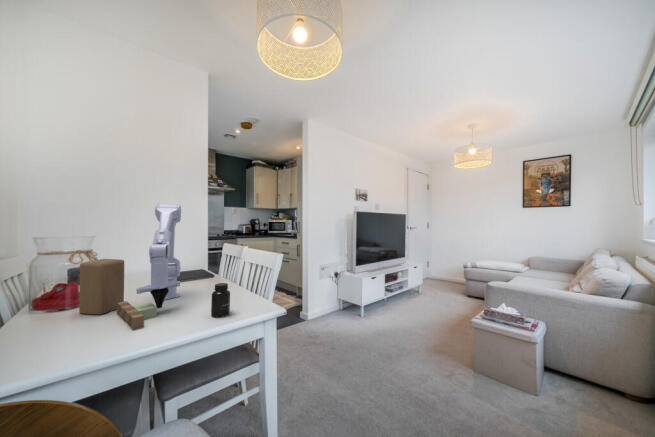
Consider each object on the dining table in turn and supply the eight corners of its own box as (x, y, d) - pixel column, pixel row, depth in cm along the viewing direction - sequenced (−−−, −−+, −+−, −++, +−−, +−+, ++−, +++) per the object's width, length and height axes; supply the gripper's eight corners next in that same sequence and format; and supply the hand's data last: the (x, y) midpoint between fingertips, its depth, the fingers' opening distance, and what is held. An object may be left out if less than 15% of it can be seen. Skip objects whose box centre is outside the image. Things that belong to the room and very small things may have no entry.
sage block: (131, 316, 95) (131, 306, 95) (149, 311, 100) (150, 302, 100) (137, 322, 90) (137, 311, 90) (156, 317, 95) (157, 306, 95)
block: (124, 306, 104) (125, 259, 104) (101, 315, 95) (101, 263, 94) (103, 305, 105) (104, 258, 105) (77, 314, 96) (78, 262, 95)
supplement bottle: (225, 318, 95) (225, 287, 95) (207, 317, 95) (208, 286, 95) (232, 311, 102) (233, 282, 102) (216, 310, 102) (216, 281, 102)
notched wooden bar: (116, 313, 97) (117, 302, 97) (126, 310, 100) (126, 301, 100) (133, 330, 84) (133, 318, 84) (143, 327, 86) (144, 315, 86)
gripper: (140, 278, 91) (140, 315, 91) (183, 272, 102) (182, 305, 102) (135, 275, 95) (134, 310, 95) (176, 269, 107) (176, 301, 107)
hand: (159, 307), depth 99 cm, fingers closed
